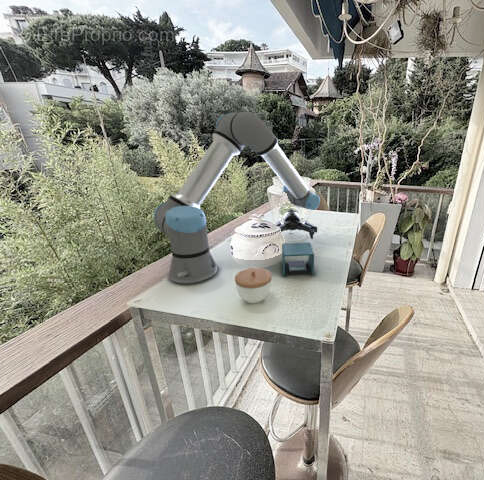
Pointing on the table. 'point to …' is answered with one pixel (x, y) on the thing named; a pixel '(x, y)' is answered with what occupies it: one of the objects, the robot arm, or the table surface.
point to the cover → (298, 253)
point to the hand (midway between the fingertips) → (295, 236)
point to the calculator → (297, 267)
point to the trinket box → (253, 284)
